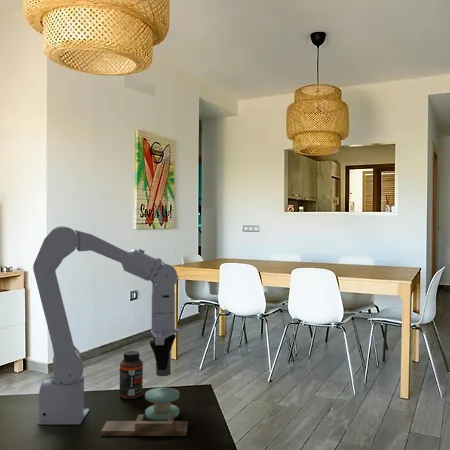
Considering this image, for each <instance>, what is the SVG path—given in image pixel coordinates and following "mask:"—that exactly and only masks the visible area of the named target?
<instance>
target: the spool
mask: <svg viewBox="0 0 450 450" xmlns="http://www.w3.org/2000/svg"><path fill="white" fill-rule="evenodd" d="M179 398H180V391H179V390H178V389H176V388H172V387H156V388H152V389H149V390H147V391H146V392H145V394H144V399H145V400H146V401H147V402H149V403H153V405H150V406H148V407H147V408H146V409H145V410H144V417H145V418H146V419H148V420H150V421H167V420H168V416H169V414H174V419H175V418H177V417H179V415H180V408H179V407H178V406H177V405H174V404H172V403H173V402H175V401H177V400H179Z"/></svg>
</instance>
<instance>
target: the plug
mask: <svg viewBox="0 0 450 450" xmlns="http://www.w3.org/2000/svg"><path fill="white" fill-rule="evenodd" d="M170 353H172V348H171V349H170ZM170 353H169V359H168V365H167V369H166V370H158V369H157V365H156V364H155V368H156V369H155V370H156V371H155V372H156V373H155V375H156V376H157V377H168V376H170V375H171V354H170Z"/></svg>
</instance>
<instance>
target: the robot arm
mask: <svg viewBox="0 0 450 450" xmlns="http://www.w3.org/2000/svg"><path fill="white" fill-rule="evenodd" d="M75 250H77V251H78V252H79V253H81V252H88V251H90V252H94V253H96V254H98V255H102V256H103V257H106V258H108V259H110V260H114V261H116V262H118V263H120V264H121V266H122V268H123V271H124V272H126V273H129V274H131V275H133V276H135V277H139V279H140V278H141V279H143V280H145V281H147V282H148V281H150V282H151V283H152V284H151V285H152V288H151V290H152V291H151V329H150V334H151V335H152V338H153V339H150V341H149V346H150V348H151V349H152V353H153V356H154V358H155V359H154V360H155V363H156V364H155V366H156V365H157V369H158V370H166V369H167V365H168V359H169V353H170V349H171V350H172V347H173V345H174V342H175V339H176V338H177V335H176V334H180V332H181V329H180V328H176V292H175V289H176V288H175V285H176V284H177V283H178V281H179V275H178V274H177V270H176V269H175V267H174V266H173V265H170V264H168V263H165V262H164V261H162V259H161V258H159V257H153V256H151V255H148V254H146V253H145V250H143V249H141V248H138V249H136V248H133V249H130V250H128V251H126V250H124V249H123V248H120V247H118V246H116V245H114V244H113V243H110V242H108V241H106V240H104V239H102V238H100V237H97V236H96V235H94V234H92V233H88V232H84V231H80V230H76V229H73V228H71V227H68V226H64V225H63V226H62V225H60V226H57V227H55V228H53V229H52V230H51V231H50V232H49V233H48V234H47V235H46V237H45V238H44V239H43V241H42V243H41V246H40V247H39V251H38V253H37V255H36V258H35V260H34V263H33V265H32V271H33V274H34V278H35V282H36V285H37V289H38V293H39V297H40V298H39V299H40V301H41V305H42V306H41V307H42V310H43V313H44V318H45V322H46V325H47V329H48V334H49V338H50V342H51V346H52V350H53V357H52V363H53V375H52V376H51V378H46V379H43V380H42V383H41V384H40V386H39V387H40V388H39V390H38V391H39V393H38V421H37V425H80V424H82V422H83V421H84V419H85V418H86V416H87V415H88V413H89V412H90V408H85V400H84V399H85V375H84V374H83V372H84V363H83V361H82V359H81V358H82V357H81V356H82V355H81V353H80V351H79V349H78V348H77V347H76V346H75V344H74V340H73V338H72V337H73V336H72V333H71V332H72V331H71V329H70V326H69V321H68V318H67V313H66V308H65V304H64V300H63V297H62V293H61V288H60V285H59V281H58V277H57V272H56V271H57V269H58V268H59V266H60V265H61V263H62V262H63V260H64V259H66V257H68V256H69V255H71V254H72V253H73V252H75ZM171 353H172V352H171ZM171 353H170V355H171Z"/></svg>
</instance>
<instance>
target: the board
mask: <svg viewBox="0 0 450 450" xmlns="http://www.w3.org/2000/svg"><path fill="white" fill-rule="evenodd" d="M188 426H189V421H188V420H175V418H174V414H169V416H168V420H166V421H155V420H145V413H144V414H138V415H137V417H136V419H135V420H106V422H105V423H104V426H103V427H102V429H101V430H100V432H101V433H100V436H102V437H103V436H104V437H105V436H107V437H109V436H113V437H114V436H117V437H120V436H123V437H127V436H128V437H129V436H130V437H134V436H135V437H136V436H137V437H139V436H140V437H142V436H143V437H144V436H145V437H150V436H151V437H154V436H156V437H157V436H159V437H161V436H162V437H164V436H165V437H170V436H171V437H174V436H175V437H176V436H177V437H179V436H180V437H184V436H185V437H186V436H187V435H188V434H187V433H188V428H189V427H188Z"/></svg>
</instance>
